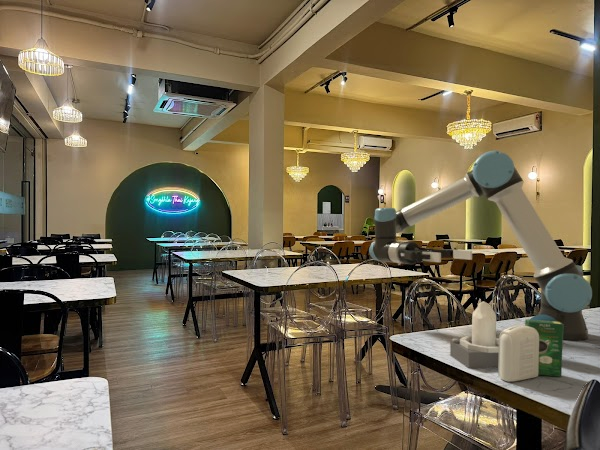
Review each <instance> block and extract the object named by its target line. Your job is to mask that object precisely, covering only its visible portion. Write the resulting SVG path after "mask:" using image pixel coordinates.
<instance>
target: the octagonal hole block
mask: <svg viewBox="0 0 600 450" xmlns="http://www.w3.org/2000/svg"><path fill="white" fill-rule="evenodd" d="M495 344H496V346H493V347H486V346H481V345H475V344H472V335H465V336H464V335H463V337H461V338H456V337H455V338H451V341H450V345H449V347H450V349H449V350H450V352H449V353H450V357H452V358H453V359H454V360H456V361H458V362H459V363H460V364H462V365H463V366H465V367H466V368H468V369H483V368H486V369H487V368H489V369H490V368H498V362H499V337H496V340H495Z"/></svg>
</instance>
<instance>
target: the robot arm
mask: <svg viewBox="0 0 600 450" xmlns="http://www.w3.org/2000/svg"><path fill="white" fill-rule="evenodd" d="M523 185H524V180H523V177H521V175H520V173H519V171H518V170H517V168H516V167H515V164H514V161H513V159H512V157H510V155H508V154H507V153H505V152H502V151H499V150H489V151H487V152H485V153H482V154H481V155H479V157H477V159H476V160H475V161H474V163H473V166H472V170H470V171H468V172H466V173H465V175H464V177H461V178H460V179H459V180H457V181H454V182H453V183H450V184H448V185H446V186H445V187H443V188H440V189H438V190H437V191H434V192H432V193H430V194H428V195H426V196H425V197H423V198H421V199H418V200H417V201H415V202H413V203H411V204H409V205H407V206H405V207H402V208H400V209H398V210H396V208H394V207H378V208H376V209H375V210H374V235H375V236H374V238H375V239H374V241H372V242H371V244H370V247H369V248H368V252H369V255H370V257H371V259H372V260H375V261H376V262H377V261H378V262H383V263H384V262H385V263H394V264H395V263H396V264H397V265H398V266H401V264H404V265H415V264H421V263H422V262H429V263H441V262H442V258H448V259H450V258H452V259H455V260H457V259H458V260H469V261H470V260H471V261H472V260H473V251H472V250H466V249H465V250H464V249H457V247H453V248H454V249H444V248H443V249H438V248H437V249H436V248H430V247H427V248H426V247H420V246H419V244H418V243H417V242H415V241H399V240H397V234H400V233H402V232H403V231H404V230H406V229H408V228H410V227H412V226H414V225H417V224H418V223H421V222H422V221H424V220H427V219H429V218H431V217H432V216H435V215H437V214H439V213H441V212H443V211H446V210H447V209H450V208H452V207H454V206H456V205H458V204H461V203H463V202H464V201H467V200H469V199H471V198H473V197H477V198H479V197H482V196H483V195H485V197H486V199H487V201H490V202H493V203H495V204H496V206H497V207H498V210H499V211H500V212H501V215H502V216H503V217H504V220H505V221H506V223H507V224H508V227H510V229H511V231H512V233H513V234H514V236H515V238H516V239H517V241H518V243H519V244H520V246H521V247H522V249H523V250H524V252H525V254H526V256H527V258H528V259H529V261H530V262H531V264H532V266H533V267H534V272H533V273H534V274H533V277H534V279H535V281H536V283H537V285H538V286H539V288H540V310H539V312H538V315H548V316H551V317H552V318H554V319H555V320H557V322H561V323H562V324H563V325H564V327H563V340H568V341H583V340H587V339H588V338H589V330H588V328H587V324H586V321H585V318H584V314H583V310H584V309H585V308H587V307H588V306H589V305H590V303H591V300H592V298H593V289H592V286H591V283H590V282H589V281H588V280H587V279H586V278H585V277H584V271H583V267H582V266H581V265H578V264H577V265H576V263H575V261H574V260H573V259H571V258H567V257H565V256H564V254H563V252H561V249H560V248H559V247H558V245H557V243H556V241H555V240H554V238H553V237H552V235H551V233H550V232H549V230H548V229H547V227H546V225H545V224H544V222H543V221H542V219H541V217H540V216H539V214H538V212H537V210H535V208H534V206H533V204H532V203H531V201H530V199H529V198H528V197H527V195H526V193H525V191H524V190H523Z"/></svg>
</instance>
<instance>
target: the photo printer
mask: <svg viewBox="0 0 600 450" xmlns="http://www.w3.org/2000/svg"><path fill="white" fill-rule="evenodd" d="M498 338H499V362H498V367H497V369H498V371H497V372H498V373H497V374H498V377H499V378H500V380H502V381H504V382H505V381H506V382H519V381H523V380H527V379H533V378H537V377H538V376H539V375H538V367H539V334H538V332H537V330H536V329H535V328H532V327H528V326H525V324H524V325H523V324H519V325H513V326H510V327H508V328H506V329H503V330H502V331H501V332H500V334H499V336H498Z"/></svg>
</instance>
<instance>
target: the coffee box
mask: <svg viewBox="0 0 600 450" xmlns="http://www.w3.org/2000/svg"><path fill="white" fill-rule="evenodd" d="M530 319H531V318H528V319H527V318H525V320H524V326H528V327H532V328H535V329H536V330H537V332H538V334H539V367H538V376H548V377H560V378H561V377H562V367H563V365H562V364H563V363H562V362H563V347H564V345H563V344H564V343H563V342H564V339H563V327H564V325H563V324H562V323H561V322H557V321H543V320H530Z"/></svg>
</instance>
